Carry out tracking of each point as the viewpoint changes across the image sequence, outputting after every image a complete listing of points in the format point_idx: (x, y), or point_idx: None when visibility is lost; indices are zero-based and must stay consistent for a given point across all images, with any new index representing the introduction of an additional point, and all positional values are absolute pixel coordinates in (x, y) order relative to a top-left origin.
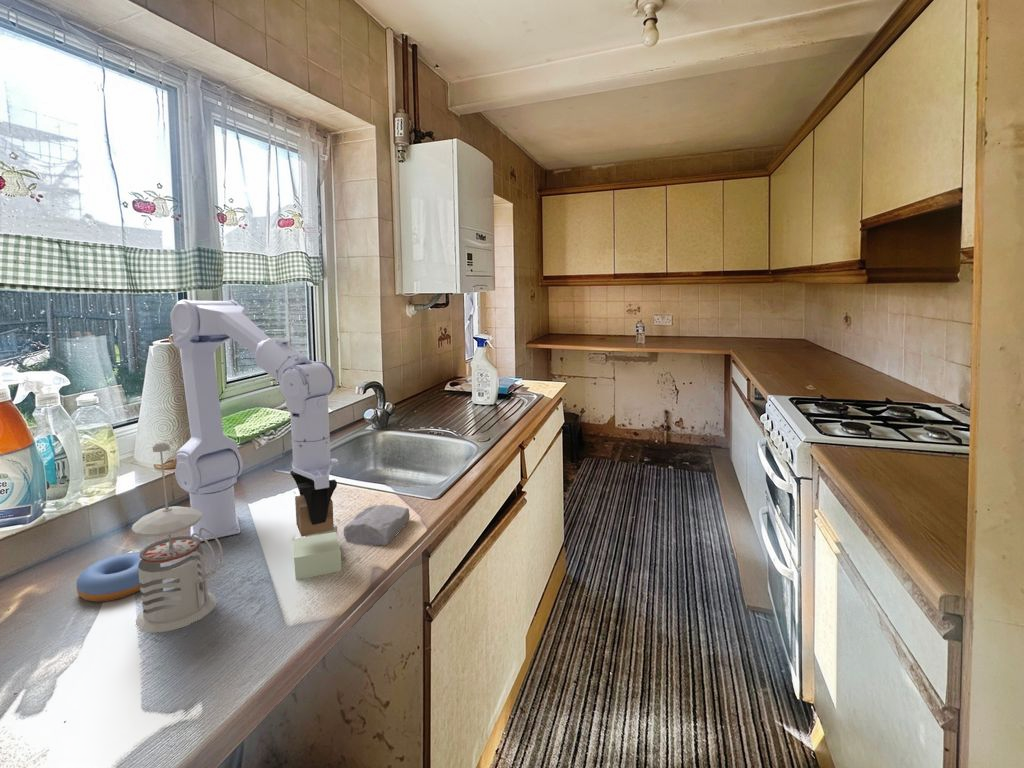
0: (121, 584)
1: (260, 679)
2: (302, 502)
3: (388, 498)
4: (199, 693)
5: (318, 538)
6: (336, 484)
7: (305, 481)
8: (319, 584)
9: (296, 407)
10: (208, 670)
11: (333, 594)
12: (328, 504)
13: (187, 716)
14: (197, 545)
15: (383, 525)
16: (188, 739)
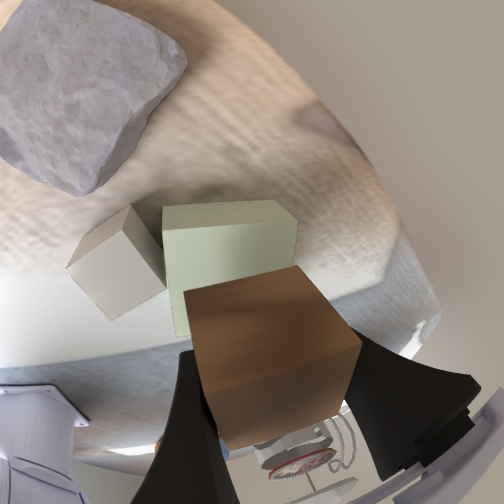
0: (227, 449)
1: (427, 290)
2: (302, 423)
3: None
4: (408, 329)
5: (196, 281)
6: (477, 383)
7: (230, 489)
8: (306, 246)
9: None
10: (391, 334)
11: (351, 221)
12: (384, 349)
13: (421, 327)
14: (319, 453)
15: (165, 55)
16: (435, 318)
